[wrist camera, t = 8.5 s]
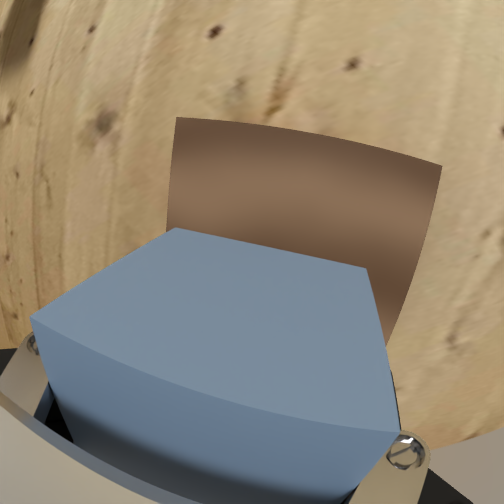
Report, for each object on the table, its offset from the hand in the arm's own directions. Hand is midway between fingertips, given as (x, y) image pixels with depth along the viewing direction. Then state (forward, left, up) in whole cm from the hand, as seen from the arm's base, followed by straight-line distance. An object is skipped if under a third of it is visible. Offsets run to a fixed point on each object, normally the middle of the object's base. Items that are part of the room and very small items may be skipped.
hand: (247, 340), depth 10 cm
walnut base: (0, 0, -10) cm, 10 cm away
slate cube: (0, 0, -1) cm, 1 cm away
